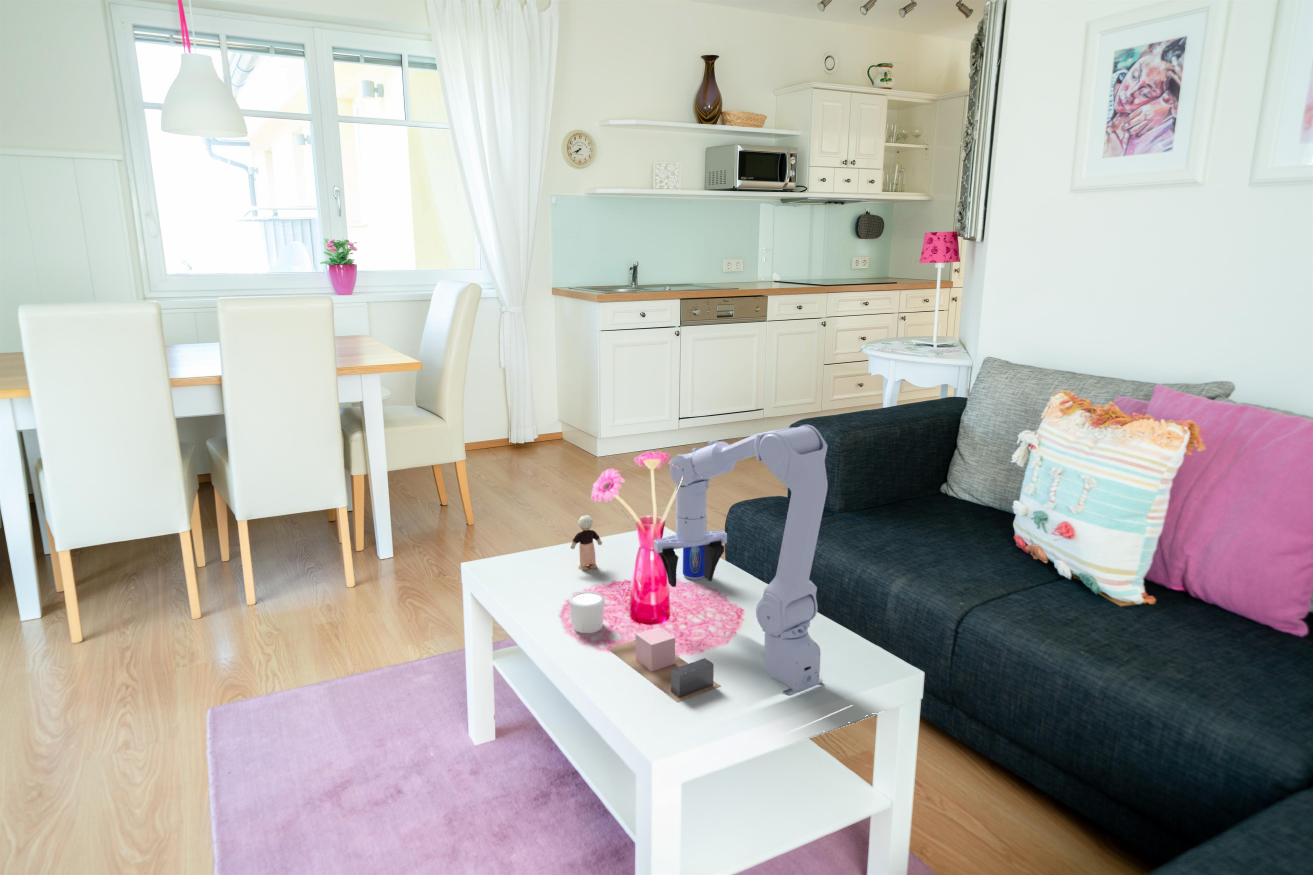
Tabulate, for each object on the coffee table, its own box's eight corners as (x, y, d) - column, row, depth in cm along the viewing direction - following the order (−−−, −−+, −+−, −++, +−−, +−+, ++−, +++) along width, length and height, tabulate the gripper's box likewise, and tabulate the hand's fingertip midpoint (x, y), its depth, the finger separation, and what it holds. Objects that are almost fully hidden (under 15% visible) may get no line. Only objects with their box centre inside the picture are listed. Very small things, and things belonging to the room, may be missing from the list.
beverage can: (678, 577, 186) (679, 514, 183) (688, 569, 190) (689, 508, 187) (699, 581, 184) (700, 517, 180) (709, 573, 188) (710, 511, 185)
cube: (674, 663, 145) (675, 637, 144) (651, 671, 142) (651, 644, 141) (658, 652, 149) (658, 626, 148) (635, 659, 146) (635, 633, 145)
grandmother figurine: (594, 561, 196) (593, 510, 193) (604, 565, 193) (603, 514, 190) (567, 569, 191) (566, 517, 188) (576, 574, 188) (575, 521, 185)
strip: (720, 691, 138) (721, 664, 137) (677, 707, 133) (677, 679, 132) (648, 640, 156) (648, 616, 154) (607, 653, 151) (607, 628, 149)
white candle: (611, 634, 158) (610, 601, 157) (578, 643, 155) (578, 608, 153) (595, 621, 164) (595, 588, 163) (564, 628, 161) (563, 595, 159)
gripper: (716, 504, 162) (715, 569, 165) (647, 513, 157) (647, 579, 160) (732, 514, 156) (731, 582, 158) (661, 524, 150) (661, 593, 153)
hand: (690, 581), depth 159 cm, fingers open, 7 cm apart
